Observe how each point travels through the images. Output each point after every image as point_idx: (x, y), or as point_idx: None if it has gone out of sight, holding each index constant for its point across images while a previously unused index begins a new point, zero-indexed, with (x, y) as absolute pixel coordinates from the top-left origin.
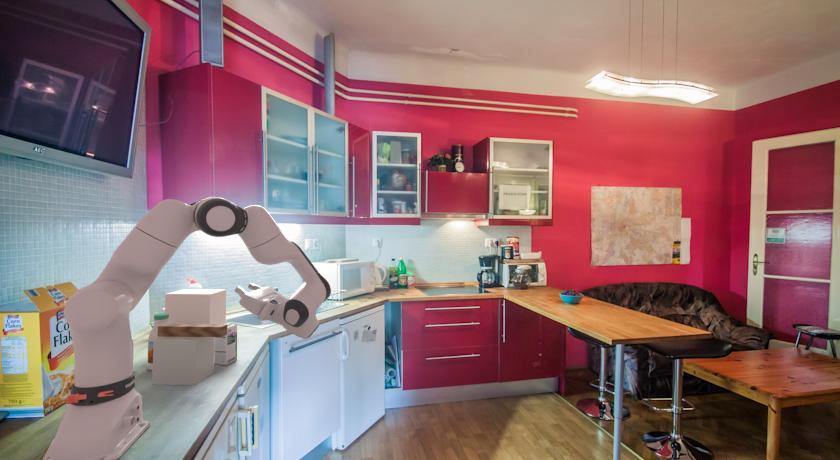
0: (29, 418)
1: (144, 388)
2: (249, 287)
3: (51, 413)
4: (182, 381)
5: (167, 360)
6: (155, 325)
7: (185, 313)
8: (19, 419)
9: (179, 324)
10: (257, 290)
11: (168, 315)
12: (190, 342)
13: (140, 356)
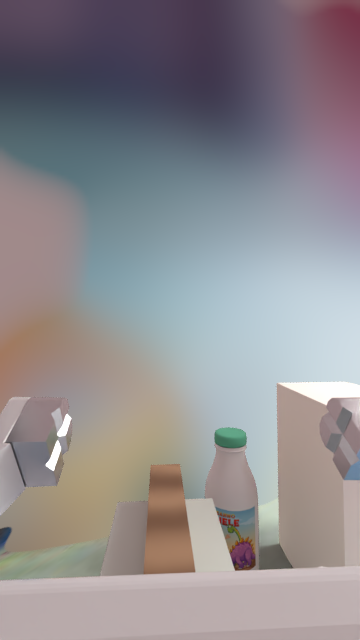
0: (2, 540)
1: None
2: (331, 443)
3: (9, 554)
4: None
5: None
6: (215, 456)
7: (300, 450)
8: (5, 532)
9: (174, 488)
10: (193, 612)
11: (238, 441)
12: None
13: (267, 505)
